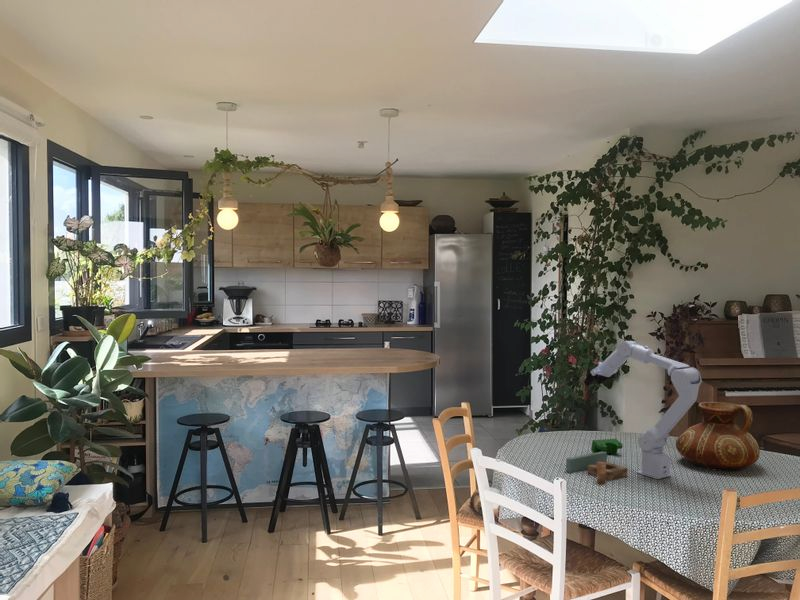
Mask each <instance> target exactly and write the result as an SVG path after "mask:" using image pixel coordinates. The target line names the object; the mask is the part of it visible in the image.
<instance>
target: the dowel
mask: <svg viewBox="0 0 800 600" xmlns="http://www.w3.org/2000/svg"><path fill="white" fill-rule="evenodd" d="M606 481H607V480H606V463H605V462H597V476H596V483H598V484H606Z"/></svg>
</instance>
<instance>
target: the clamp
mask: <svg viewBox="0 0 800 600" xmlns="http://www.w3.org/2000/svg"><path fill="white" fill-rule="evenodd" d="M591 441H592V443H591V447H590V450H591V452H592V453H597V452H602V451H603V452H607V454H612V455H614V456H615V455H617V456H618V450H620V449H623V446H624V445H623V443H622V442H621V441H620V440H619V439H617V438H605V439H592V440H591Z"/></svg>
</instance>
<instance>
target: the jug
mask: <svg viewBox="0 0 800 600" xmlns="http://www.w3.org/2000/svg"><path fill="white" fill-rule="evenodd" d="M697 407H698V409H699V410H700V413H701V416H702V417H703V421H702V422H700V423H697V424H695V425H692V426H690V427H688V428H687V429H686V430H685V431H683V432H682V433H681V434H680V435H679V436H678V437H677V439H676V440H675V447H676V450H677V452H678V454H680V456H682V457H684V458H685V459H687V460H688V461H690V462H691V463H692V464H694V465H696V466H698V467H700V466H701V468H703V467H704V468H705V469H708V468H709V469H708V470H712V469H715V471H720V470H722V471H721V472H740V471H742V470H745V469H746V468H749V467H751V466H752V465H754V464H756V463H757V461H758V460H759V457H760V453H761V452H760V451H761V450H760V447H759V443H758V442H757V440H756V439H755V438H754V437H753V436H752V434H751V433H749V429H750V428H751V425H752V422H753V419H754V418H753V411H752V410H751V408H750V407H749V406H747V405H746V404H740V405H739V404H735V403H730V402H721V401H720V402H719V401H718V402H717V401H702V402H700V403H698V404H697ZM741 410H743V413H744V421H743V424H742V426H741V427H740V426H738V425H737V424H736V421H737V418H738V416H739V414H740V412H741ZM704 468H703V469H704Z"/></svg>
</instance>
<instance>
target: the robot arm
mask: <svg viewBox="0 0 800 600" xmlns="http://www.w3.org/2000/svg"><path fill="white" fill-rule="evenodd" d="M654 352H655V351H653V349H651V348H650V346H648V345H641V344H638V342H636V341H633V340H624V341H623V340H621V341H620V342H618V344H617V346H616V349H615V350H614V351H612V352H611V354H610V355H609V356H607V357H606V358H605V360H603V362H602V361H599V362H598V363H597V364H598V365H597V366H596V367H595V368H593V367H591V368H588V372H587V375H586V378H585V379H584V382H583V384H584V385H585V386H586V387H588V386H590V385H592V384H593V383H595V382H596V383H597V385H603V384H604V383H605V382H606V381H610V380H612V379H615V378H616V376H615V374H616V373H617V372H619V368H620V367H622V365H624V363H625V362H626V361H627V360H628V359H629V358H631V359H634V360H636V361H638V362H641V363H643V364H650V363H652V364H654V365H657V366H659V367H661V368H663V369H665V370H667V374H668V377H670V380H671V383H672V385H673V386H674V389H675V390H676V392H677V394H678V397H677V398H676V399H675V400H674V402H673V403H672V404H671V406H669V408H668V409H667V410H666V411H665V413H663V415H662V416H661V418H659V420H658V421H657V423H656V424H655V425H654V426H652V427H651V428H649V429H648V430H647V431H646V432H645V433H643V434H640V435H639V437H638V441H637V443H638V446H639V448H640V450H641V470H637V471H636V474H640V475H644V476H645V477H649V478H653V479H655V480H659V479H664V478H668V477H671V473H670V469H671V466H670V465H671V462H670V461H671V460H670V456H669V455H668V454H666V453H665V452H664V447H665V446H666V445H667V441H668V439H669V438H670V434H669V433H670V432H671V431H672V430H673V428H674V427H675V426H677V424H678V423H679V422H680V420H681V419H682V418H683V417H684V416H685V414H686V413H687V412H688V411H689V410H690V408H692V406H693V405H694V404H695V403H696V401H697V399H698V395H699V389H700V386H701V384H702V382H703V380H702V377H701V373H700V371H699V370H698V369H697V368H695V367H691V366H690V365H689V364H687V363H683V362H680V361H677V360H674V359H671V358H668V357H665V356H662V355H659V354H655V353H654Z"/></svg>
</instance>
